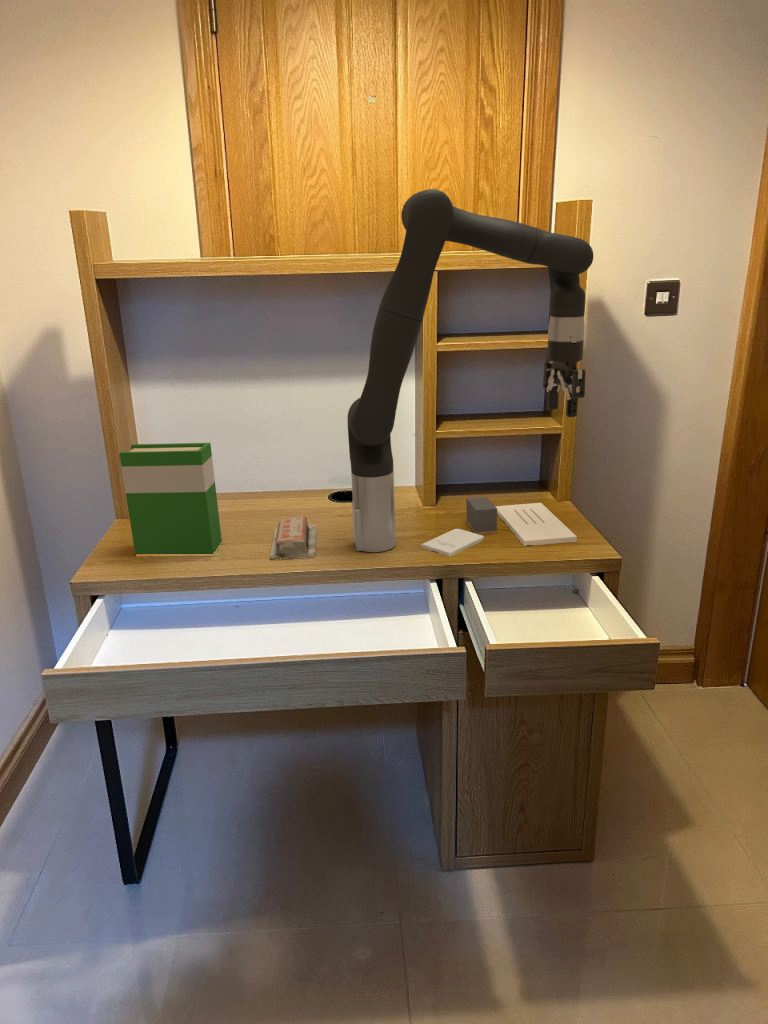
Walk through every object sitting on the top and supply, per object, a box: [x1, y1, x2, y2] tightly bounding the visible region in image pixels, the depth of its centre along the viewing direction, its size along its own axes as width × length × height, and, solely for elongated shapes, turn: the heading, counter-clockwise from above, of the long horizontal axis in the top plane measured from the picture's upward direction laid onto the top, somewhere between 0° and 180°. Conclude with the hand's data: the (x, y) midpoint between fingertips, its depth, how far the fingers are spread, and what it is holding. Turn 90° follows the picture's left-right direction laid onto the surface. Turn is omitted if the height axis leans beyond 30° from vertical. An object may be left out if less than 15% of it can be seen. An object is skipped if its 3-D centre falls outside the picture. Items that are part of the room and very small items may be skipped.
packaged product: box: [269, 514, 318, 560], centre depth 171 cm, size 18×5×10 cm
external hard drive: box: [420, 528, 485, 557], centre depth 168 cm, size 2×8×12 cm
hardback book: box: [119, 442, 223, 555], centre depth 167 cm, size 18×7×24 cm, turn 87°
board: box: [494, 502, 578, 547], centre depth 177 cm, size 12×24×1 cm, turn 8°
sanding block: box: [465, 496, 498, 535], centre depth 177 cm, size 9×5×6 cm, turn 8°
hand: (561, 412), depth 166 cm, fingers open, 8 cm apart
